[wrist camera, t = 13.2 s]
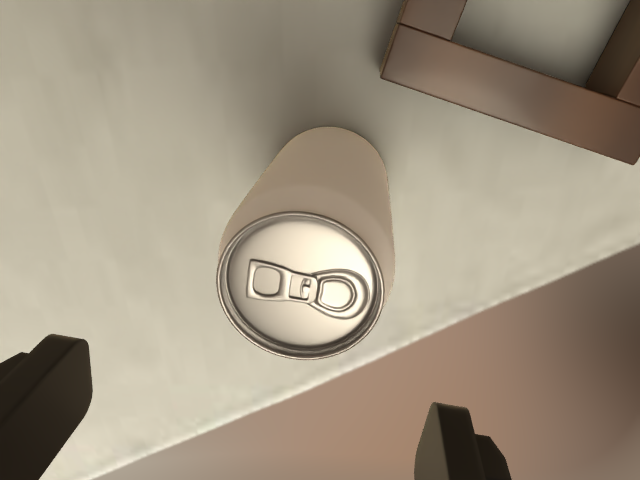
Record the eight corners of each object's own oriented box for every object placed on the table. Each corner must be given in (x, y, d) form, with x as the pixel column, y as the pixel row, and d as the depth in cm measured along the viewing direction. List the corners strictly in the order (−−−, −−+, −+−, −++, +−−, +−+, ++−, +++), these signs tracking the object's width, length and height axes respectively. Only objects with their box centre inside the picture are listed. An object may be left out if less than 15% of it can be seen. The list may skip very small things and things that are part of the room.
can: (375, 245, 28) (376, 385, 17) (266, 225, 28) (198, 351, 17) (399, 135, 25) (418, 218, 14) (278, 115, 25) (208, 181, 15)
